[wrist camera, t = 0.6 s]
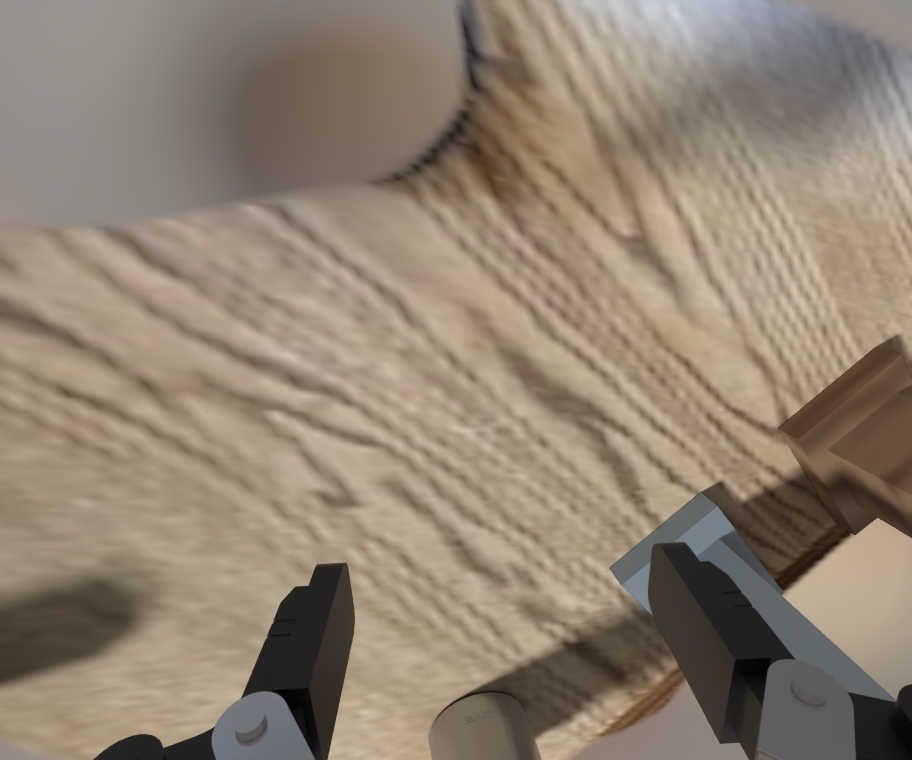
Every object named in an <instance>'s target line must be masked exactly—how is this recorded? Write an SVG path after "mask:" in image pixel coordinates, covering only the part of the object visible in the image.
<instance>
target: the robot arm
mask: <svg viewBox="0 0 912 760" xmlns="http://www.w3.org/2000/svg"><path fill="white" fill-rule="evenodd" d="M648 600H649V605H650V609H651V612H652V615H653V617H654V619H655V621H656V623H657V625H658V627H659V628H660V630H661V632H662V634H663V636H664V638H665V640H666V642H667V644H668V646H669V647H670V649H671V651H672V653H673V655H674V657H675V659H676V661H677V663H678V665H679V666H680V668H681V670H682V672H683V674H684V676H685V678H686V680H687V682H688V684H689V686H690V687H691V689H692V691H693V693H694V695H695V697H696V699H697V700H698V703H699V705H700V706H701V708H702V710H703V712H704V714H705V716H706V718H707V720H708V722H709V723H710V725H711V727H712V729H713V731H714V733H715V735H716V737H717V739H718V740H719V742H720V744H724V743H740V744H741V746H742V748H743V750H744V751H745V753H746V755H747V757H748V759H749V760H912V684H910V685H907V686H905V687H903V688H902V689H901V690H900V692H899V695H898V697H897V700H896V702H893V701H888V700H883V699H879V698H874V697H869V696H865V695H860V694H855V693H851V692H847V691H846V690H845V689H844V687H843V686H842V685H841V684H840V683H839V682H838V681H837V680H836V679H835V678H833V677H832V676H831V675H829V674H828V673H826V672H825V671H823V670H822V669H820V668H818V667H816V666H814V665H811V664H809V663H806V662H803V661H799V660H796V659H795V658H794V657H793V655H792V654H791V653H790V652H789V650H788V649H787V648H786V647H785V645H784V644H783V643H782V642H781V640H780V639H779V638H778V637H777V635H776V634H775V633H774V632H773V630H772V629H771V628H770V627H769V625H768V624H767V623H766V622H765V620H764V619H763V618H762V616H761V615H760V614H759V613H758V611H757V610H756V609H755V608H753V607H752V604H751V603H750V601H749V600H748V599H747V598H746V596H745V595H744V594H742V593H741V590H740V589H739V588H738V586H737V585H736V584H735V582H734V581H733V580H732V579H731V577H730V576H729V575H728V574H727V573H725V572H724V571H722V570H721V569H720V568H718V567H717V566H715V565H714V564H713V563H711V562H710V561H701V562H700V561H699V559H698V558H697V557H696V555H695V554H694V552H693V551H692V550H691V548H690V547H689V546H688V545H687V544H686V543H685V542H671V543H655V544H654V545H653V547H652V551H651V562H650V572H649V582H648ZM354 625H355V613H354V604H353V597H352V590H351V583H350V576H349V570H348V565H347V563H331V564H318V565H316V567H315V569H314V572H313V575H312V578H311V581H310V583H309V586H299V587H295V588H294V589H293V590H292V591H291V592H290V593H289V594H288V595H287V596H286V597H285V599H284V600H283V601H282V602H281V603H280V606H279V608H278V611H277V613H276V616H275V618H274V623H273V624H272V625H271V628H270V630H269V632H268V635H267V639H266V640H265V642H264V645H263V647H262V649H261V652H260V654H259V657H258V659H257V662H256V664H255V666H254V669H253V671H252V674H251V676H250V678H249V681H248V683H247V686H246V688H245V691H244V693H243V695H242V697H241V699H240V700H238V701H237V702H235V703H234V704H233V705H231V706H230V707H229V708H228V709H227V710H226V711H225V712H224V713H223V714H222V716H221V717H220V718H219V720H218V722H217V724H216V725H215V727H213V728H212V729H210V730H208V731H206V732H205V733H202V734H200V735H198V736H195V737H193V738H190V739H187V740H184V741H182V742H179V743H176V744H173V745H171V746H168V747H165V748H163V746H162V743H161V742H160V740H159V739H157V738H156V737H154V736H152V735H147V734H139V735H134V736H131V737H128V738H125V739H123V740H120V741H118V742H117V743H115V744H113V745H111V746H110V747H108V748H107V749H106V750H104V751H103V752H102V753H100V754H99V755H98V756H97V757H96V758H95V759H94V760H327V759H328V755H329V750H330V745H331V740H332V735H333V731H334V726H335V721H336V716H337V712H338V707H339V702H340V697H341V692H342V688H343V683H344V678H345V673H346V668H347V664H348V659H349V654H350V649H351V645H352V640H353V635H354ZM429 745H430V751H431V758H432V760H542V759H541V756H540V753H539V750H538V747H537V744H536V741H535V738H534V735H533V733H532V730H531V727H530V724H529V721H528V718H527V715H526V713H525V710H524V708H523V706H522V704H521V703H520V702H519V701H518V700H517V699H515V698H514V697H512V696H510V695H506V694H503V693H495V692H490V693H481V694H476V695H472V696H469V697H467V698H464V699H462V700H460V701H458V702H456V703H455V704H453V705H451V706H450V707H449V708H447V709H446V710H445V711H444V712H443V713H442V714H441V715H440V716H439V717H438V718H437V719H436V721H435V722H434V724H433V726H432V728H431V731H430V734H429Z"/></svg>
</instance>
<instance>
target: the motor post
mask: <svg viewBox="0 0 912 760" xmlns="http://www.w3.org/2000/svg"><path fill="white" fill-rule="evenodd" d="M671 542H685V543H686V544H687V545H688V546H689V547H690V548H691V550H692V551H693V552H694V554H695V555H696V557H697V558H698V559H699V561H700V562H701V561H710V562H711V563H713V564H714V565H715V566H717V567H718V568H720V569H721V570H722V571H724V572H725V573H727V574H728V575H729V576H730V577H731V579H732V580H733V581H734V582H735V584H736V585H737V586H738V588H739V589H740V590H741V593H742V594H744V595H745V596H746V598H747V599H748V600H749V601H750V603H751V604H752V607H753V608H755V609H756V610H757V611H758V613H759V614H760V615H761V616H762V618H763V619H764V620H765V622H766V623H767V624H768V625H769V627H770V628H771V629H772V630H773V632H774V633H775V634H776V635H777V637H778V638H779V639H780V640H781V642H782V643H783V644H784V645H785V647H786V648H787V649H788V650H789V652H790V653H791V654H792V655H793V657H794V658H795V659H796V660H799V661H803V662H806V663H809V664H811V665H814V666H816V667H818V668H820V669H822V670H823V671H825V672H826V673H828V674H829V675H831V676H832V677H833V678H835V679H836V680H837V681H838V682H839V683H840V684H841V685H842V686H843V687H844V689H845V690H846V691H847V692H851V693H855V694H860V695H865V696H869V697H874V698H879V699H883V700H888V701H893V702H896V700H895V699H894V698H893V697H892V696H891V695H890V694H889V693H887V692H886V691H885V690H884V689H883V688H882V687H881V686H880V685H879V684H877V683H876V682H875V681H874V680H873V679H872V678H871V677H870V676H869V675H868V674H867V673H866V672H864V671H863V670H862V669H861V668H860V667H859V666H858V665H857V664H856V663H855V662H853V661H852V660H851V659H850V658H849V657H848V656H847V655H846V654H845V653H844V652H843V651H841V650H840V649H839V648H838V647H837V646H836V645H835V644H834V643H833V642H832V641H831V640H829V639H828V638H827V637H826V636H825V635H824V634H823V633H822V632H821V631H820V630H819V629H817V628H816V627H815V626H814V625H813V624H812V623H811V622H810V621H809V620H808V619H807V618H805V617H804V616H803V615H802V614H801V613H800V612H799V611H798V610H797V609H796V608H794V607H793V606H792V605H791V604H790V603H789V602H788V601H787V600H786V599H785V598H784V597H782V596H781V594H782V593H783V591H782V590H781V588H780V587H779V586H778V584H777V583H776V582H775V580H774V579H773V578H772V577H771V575H770V574H769V573H768V571H767V570H766V569H765V567H764V566H763V565H762V564H761V562H760V561H759V560H758V558H757V557H756V556H755V554H754V553H753V552H752V551H751V549H750V548H749V547H748V545H747V544H746V543H745V541H744V540H743V539H742V538H741V536H740V535H739V534H738V532H737V531H736V530H735V528H734V527H733V526H732V524H731V523H730V522H729V521H728V519H727V518H726V517H725V515H724V514H723V513H722V511H721V510H720V509H719V508H718V506H717V505H715V504H714V503H713V502H712V501H711V500H709V499H708V498H707V497H706V496H705V495H703V494H702V493H700V494H698V495H697V496H696V497H695V498H694V499H692V500H691V501H690V502H689V503H688V504H686V505H685V506H684V507H683V508H681V509H680V510H679V511H678V512H677V513H675V514H674V515H673V516H672V517H671V518H669V519H668V520H667V521H666V522H665V523H663V524H662V525H661V526H660V527H659V528H657V529H656V530H655V531H654V532H653V533H651V534H650V535H649V536H648V537H647V538H645V539H644V540H643V541H642V542H641V543H639V544H638V545H637V546H636V547H634V548H633V549H632V550H631V551H630V552H628V553H627V554H626V555H625V556H624V557H622V558H621V559H620V560H619V561H618V562H616V563H615V564H614V565H613V566H612V567H610V568H609V569H610V570H611V571H612V573H613V574H614V576H615V577H616V578H617V580H618V581H619V583H620V584H621V585H622V586H623V587H624V588H625V589H626V590H627V591H628V592H629V593H630V594H631V595H632V596H633V597H634V598H635V599H636V600H637V601H638V602H639V603H640V604H641V605H642V606H643V607H644V608H645V609H646V610H647V611H648V612H649V613H650V614H651V615H652V612H651V609H650V605H649V600H648V582H649V572H650V562H651V551H652V547H653V545H654V544H655V543H671ZM652 616H653V615H652Z"/></svg>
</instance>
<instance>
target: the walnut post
mask: <svg viewBox="0 0 912 760" xmlns="http://www.w3.org/2000/svg"><path fill="white" fill-rule="evenodd" d="M778 430H779V431H780V433H781V435H782V436H783V438H784V440H785V441H786V443H787V444H788V446H789V448H790V449H791V451H792V453H793V454H794V456H795V458H796V459H797V461H798V462H799V464H800V466H801V467H802V469H803V471H804V472H805V474H806V475H807V477H808V479H809V480H810V482H811V484H812V485H813V487H814V488H815V490H816V492H817V493H818V495H819V497H820V498H821V500H822V502H823V503H824V505H825V506H826V508H827V510H828V511H829V513H830V515H831V516H832V518H833V519H834V521H835V522H836V523H838V524H839V525H841V526H842V527H844V528H845V529H847V530H848V531H850V532H851V533H853V534H854V535H856V534H857V533H859V532H860V531H861V530H863V529H864V528H865V527H866V526H868V524H870V523H871V522H873V521H874V520H875V519H876V518H879V519H881V520H883V521H884V522H886V523H888V524H889V525H891V526H893V527H894V528H896V529H898V530H899V531H901V532H903V533H904V534H906V535H908V536H909V537H911V538H912V377H911V374H910V372H909V370H908V367H907V365H906V362H905V360H904V357H903V355H902V354H900V353H896V352H893V351H889V350H886V349H882V348H879V347H876V348H874V349H873V350H872V351H871V352H870V353H868V354H867V355H866V356H865V357H863V358H862V359H861V360H860V361H859V362H857V363H856V364H855V365H854V366H853V367H851V368H850V369H849V370H848V371H847V372H845V373H844V374H843V375H842V376H841V377H839V378H838V379H837V380H836V381H835V382H833V383H832V384H831V385H830V386H829V387H827V388H826V389H825V390H824V391H822V392H821V393H820V394H819V395H818V396H816V397H815V398H814V399H813V400H812V401H810V402H809V403H808V404H807V405H806V406H804V407H803V408H802V409H801V410H800V411H798V412H797V413H796V414H795V415H794V416H792V417H791V418H790V419H789V420H788V421H786V422H785V423H784V424H783V425H782V426H780V427H779V428H778Z"/></svg>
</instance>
